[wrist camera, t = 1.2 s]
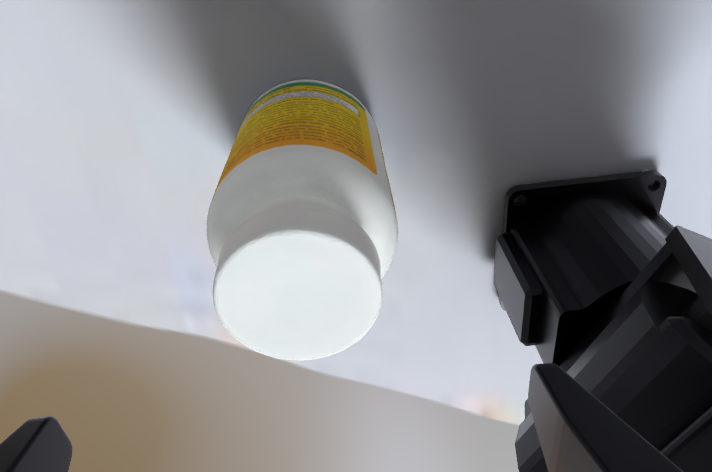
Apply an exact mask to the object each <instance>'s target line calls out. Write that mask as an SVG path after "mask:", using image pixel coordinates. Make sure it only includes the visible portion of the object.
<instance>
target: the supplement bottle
mask: <svg viewBox="0 0 712 472" xmlns="http://www.w3.org/2000/svg"><path fill="white" fill-rule="evenodd" d="M397 237H398V226H397V217H396V211H395V206H394V202H393V197H392V193H391V189H390V184H389V180H388V176H387V172H386V167H385V162H384V157H383V152H382V147H381V142H380V138H379V134H378V131H377V128H376V125H375V123H374V121H373V119H372V117H371V115H370V113H369V112H368V110H367V109H366V108H365V106H364V105H363V104H362V103H361V102H360V101H359V100H358V99H357V98H356V97H355V96H354V95H352V94H351V93H349V92H348V91H346V90H344V89H342V88H340V87H338V86H335V85H333V84H330V83H327V82H323V81H318V80H309V79H303V80H293V81H289V82H285V83H282V84H280V85H277V86H275V87H273V88H271V89H270V90H268V91H266V92H265V93H264V94H262V95H261V96H260V97H259V98H258V99H257V100H256V101H255V102H254V103H253V104H252V106H251V107H250V109H249V110H248V112H247V114H246V116H245V118H244V120H243V122H242V124H241V127H240V129H239V132H238V134H237V137H236V139H235V142H234V145H233V147H232V149H231V152H230V155H229V157H228V160H227V162H226V165H225V167H224V169H223V172H222V175H221V177H220V180H219V183H218V185H217V188H216V191H215V193H214V196H213V199H212V201H211V204H210V207H209V212H208V217H207V240H208V245H209V249H210V253H211V256H212V258H213V260H214V262H215V265H216V267H217V269H216V274H215V279H214V285H213V300H214V305H215V309H216V312H217V314H218V317H219V319H220V321H221V322H222V324H223V325H224V327H225V328H226V329H227V331H228V332H229V333H230V334H231V335H232V336H233V337H234V338H235V339H237V340H238V341H239V342H240V343H242V344H243V345H245V346H246V347H248V348H250V349H252V350H254V351H256V352H258V353H261V354H264V355H267V356H271V357H274V358H278V359H285V360H310V359H318V358H322V357H326V356H330V355H333V354H336V353H338V352H341V351H343V350H345V349H347V348H348V347H350V346H351V345H353V344H354V343H356V342H357V341H359V340H360V339H361V338H362V337H363V336H364V335H365V334H366V333H367V332H368V330H369V329H370V328H371V327H372V325H373V324H374V322H375V320H376V318H377V316H378V314H379V310H380V307H381V302H382V283H381V279H382V278H383V276H384V275H385V273H386V272H387V270H388V268H389V266H390V264H391V262H392V259H393V257H394V253H395V250H396V245H397Z"/></svg>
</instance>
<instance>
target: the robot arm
mask: <svg viewBox="0 0 712 472" xmlns="http://www.w3.org/2000/svg"><path fill="white" fill-rule="evenodd" d="M652 181H655V182H654V184H653V185H652V186H649V187H648V185H649V184H650V183H651V182H652ZM665 188H666V179H665V177H664V176H662V175H661V174H660V173H659V172H657V171H644V172H635V173H626V174H617V175H608V176H599V177H590V178H581V179H572V180H563V181H555V182H546V183H537V184H528V185H519V186H515V187H512V188H511V189H509V191H508V192H507V193H506V196H505V208H504V224H503V233H500V234H499V236H498V237H497V238H496V249H495V267H494V284H495V286H496V289H497V291H498V293H499V303H500V305H501V307H502V308H503V310H505V311H507V313H508V316H509V318H510V320H511V322H512V325H513V327H514V329H515V332H516V334H517V336H518V338H519V341H520V342H521V343H523V344H524V345H525V346H530V345H535V346H536V348H537V350H538V352H539V355H540V357H541V359H542V361H543V363H544V364H536V365H534V366H533V367H532V369H531V375H530V384H529V392H528V399H527V400H526V401H525V420H524V421H523V422H522V423H521V424H520V426H519V430H518V434H517V438H516V442H515V447H516V455H517V462H518V469H519V472H712V239H710V238H707V237H705V236H703V235H700V234H698V233H695V232H693V231H690V230H688V229H685V228H683V227H680V226H676V227H675V228H674V227H673V226H672V225H671V224H670V223H669V222H668V221H667V220H666V219H665V218H664V217H663V216H662V215H660V214H659V212H660V208H661V204H662V200H663V196H664V192H665ZM520 195H522V196H523V198H522V199H521V200H520V201H517V202H516V201H514V200H515V198H516V197H517V196H520ZM71 457H72V445H71V442H70V440H69V438H68V437H67V435H66V433H65V432H64V430H63V429H62V427H61V425H60V424H59V422H58V421H57V419H56V418H54V417H51V416H48V417H38V418H32V419H30V420H28V421H26V422H25V423H24V424H23V425H22V426H20V427H19V428H18V429H17V430H16V431H15V432H13V433H12V434H11V435H10V436H9V437H8V438H7V439H5V440H4V441H3V442H2V443H1V444H0V472H68V470H69V465H70V461H71Z"/></svg>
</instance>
